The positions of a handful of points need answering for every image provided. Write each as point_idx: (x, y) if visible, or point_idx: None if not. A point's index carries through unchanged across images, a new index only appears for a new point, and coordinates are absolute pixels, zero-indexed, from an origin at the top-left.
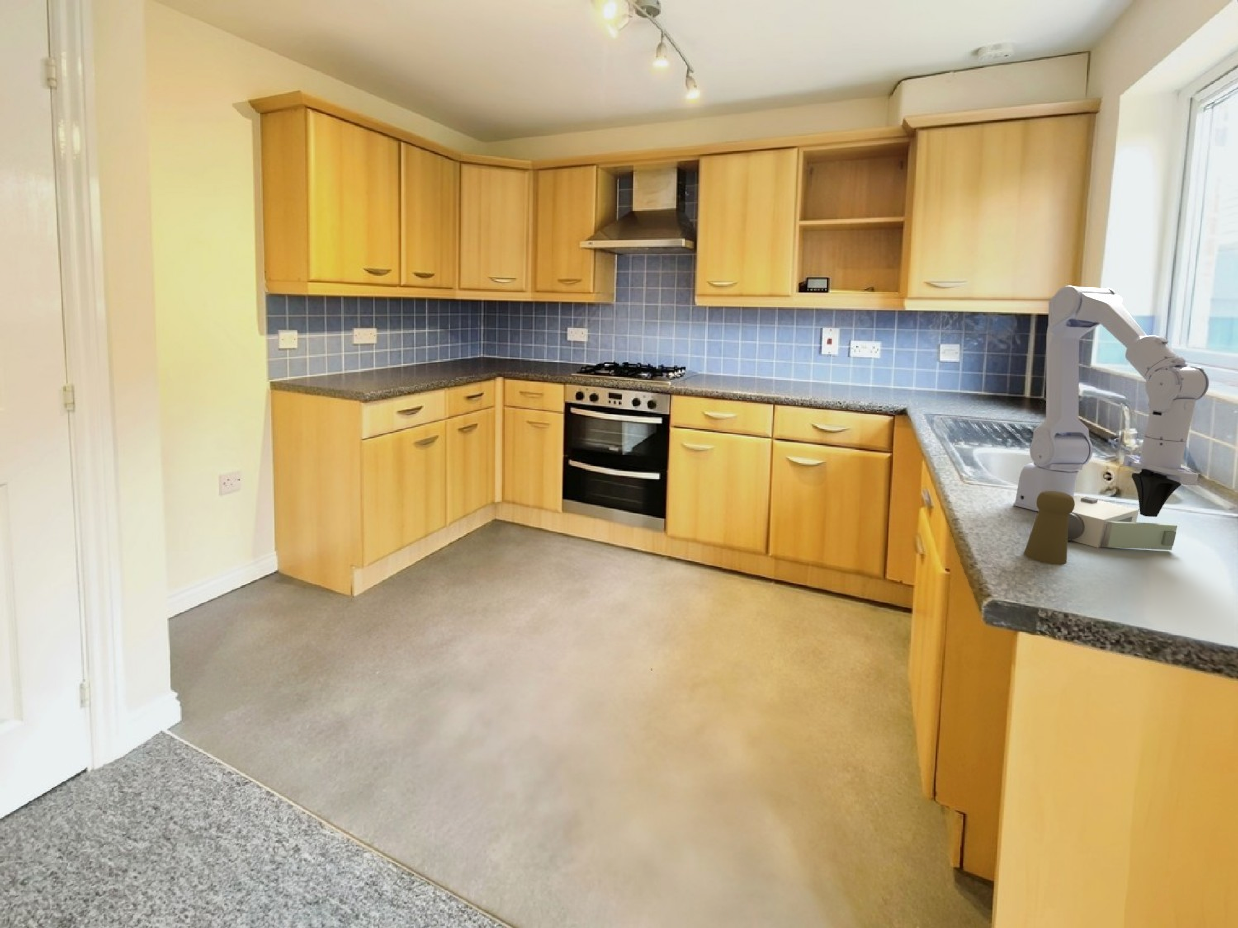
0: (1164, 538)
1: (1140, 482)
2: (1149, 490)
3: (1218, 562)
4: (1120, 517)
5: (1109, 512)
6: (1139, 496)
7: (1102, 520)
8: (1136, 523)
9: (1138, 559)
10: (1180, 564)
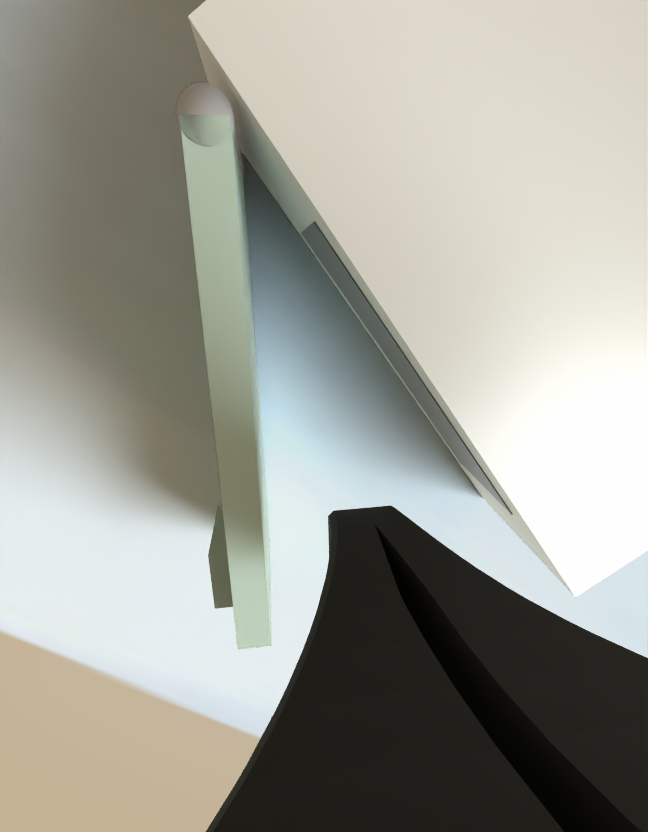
0: (218, 526)
1: (560, 742)
2: (290, 701)
3: (136, 655)
4: (414, 362)
5: (487, 301)
6: (469, 581)
7: (195, 10)
8: (217, 374)
9: (38, 267)
10: (30, 467)
